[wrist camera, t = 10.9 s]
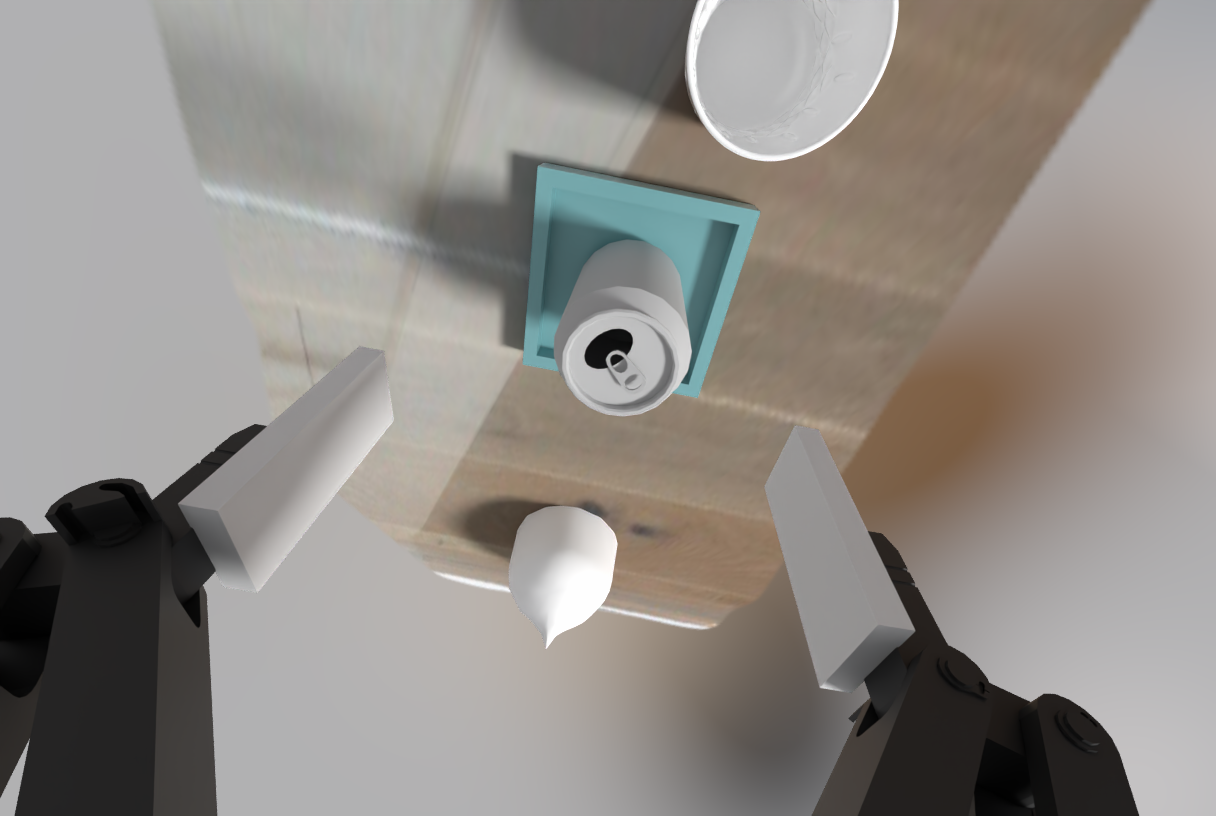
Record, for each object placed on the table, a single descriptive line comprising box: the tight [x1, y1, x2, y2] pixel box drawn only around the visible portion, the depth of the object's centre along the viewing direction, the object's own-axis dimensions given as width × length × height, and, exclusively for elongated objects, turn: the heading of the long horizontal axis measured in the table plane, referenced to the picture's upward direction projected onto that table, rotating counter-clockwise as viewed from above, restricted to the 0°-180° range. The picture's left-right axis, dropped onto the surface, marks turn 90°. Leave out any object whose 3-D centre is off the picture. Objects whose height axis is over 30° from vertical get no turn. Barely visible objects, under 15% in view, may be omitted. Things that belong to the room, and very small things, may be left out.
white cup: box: [685, 0, 898, 161], centre depth 22 cm, size 8×8×10 cm
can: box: [554, 239, 692, 416], centre depth 28 cm, size 8×8×12 cm
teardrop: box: [509, 506, 617, 649], centre depth 45 cm, size 11×11×12 cm
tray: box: [523, 162, 760, 398], centre depth 33 cm, size 14×14×2 cm
